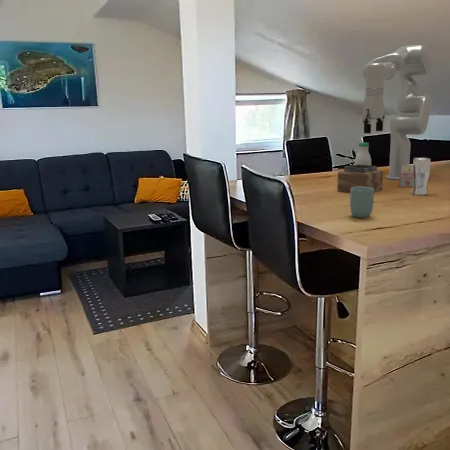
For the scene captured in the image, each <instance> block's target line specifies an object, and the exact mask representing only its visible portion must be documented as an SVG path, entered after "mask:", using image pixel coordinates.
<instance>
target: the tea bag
mask: <svg viewBox="0 0 450 450" xmlns="http://www.w3.org/2000/svg"><path fill="white" fill-rule="evenodd" d="M412 168H413V164H409V165H400V180H398V181H399V184H398V187H399V188H413V174H412Z"/></svg>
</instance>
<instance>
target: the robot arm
mask: <svg viewBox="0 0 450 450" xmlns="http://www.w3.org/2000/svg"><path fill="white" fill-rule="evenodd" d="M434 69H435V60H434V57H433V56H432V54H431V53H430V51H429V49H428V48H427V47H426V46H425V45H424V44H411V45H403V46H401V47H398V48H397V49H396V50H394V51H393V52H391V53H390V54H389V53H388V54H386V55H383V56H381V57H376V58H374V59H371V61H368V63H366V64H365V66H364V67H363V69H362V77H363V78H364V80H365V97H364V99H363V107H362V108H363V109H362V114H361V118H362V123H363V133H364V134H371V133H372V124H371V122H372V120H376V122H375V131H376V132H383V130H384V121H385V120H384V119H385V118H386V117H385V115H386V111H385V108H384V107H385V106H384V105H385V104H384V102H385V101H384V88H385V86H384V85H385V81H390V80H392V79H394V78H395V76H396V75H397V73H398V75H399V79H400V84H401V88H400V92H399V97H398V100H397V105H396V106H397V112H398V113H400V114H398V115H394V116H393V117H391V119H390V121H389V131H390V146H389V147H390V148H389V149H390V151H389V168H388V170H389V171H388V174H385V179H389V180H398V181H399V180H400V165H410V160H411V159H410V158H411V156H410V155H411V146H412V145H411V141H410V139H409V137H408V135H409V136H410V135H416V136H417V135H419V136H420V135H423V134H424V133H425V132H426V130H427V127H428V125H429V124H428V123H429V119H430V116H431V112H432V111H431V110H432V105H433V104H432V98H431V96H430V95H429V94H427V93H419V92H420V84H419V82H418V81H417V80H416V78H415V77H414V76H426V75H429V74H431V73H432V72H433V71H434Z"/></svg>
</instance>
